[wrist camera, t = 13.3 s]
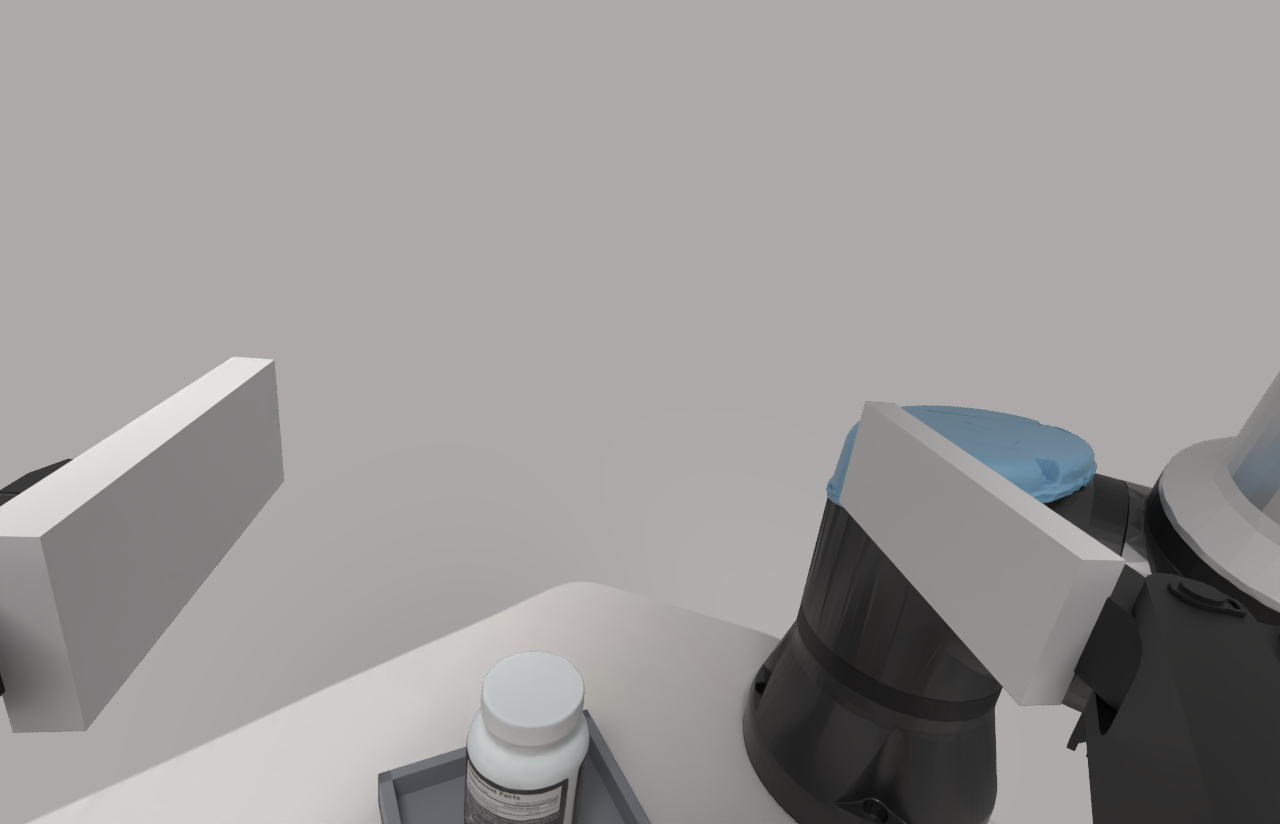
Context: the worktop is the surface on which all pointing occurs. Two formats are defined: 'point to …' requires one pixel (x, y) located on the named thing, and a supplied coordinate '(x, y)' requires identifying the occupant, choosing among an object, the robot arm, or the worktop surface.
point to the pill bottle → (527, 744)
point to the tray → (434, 789)
